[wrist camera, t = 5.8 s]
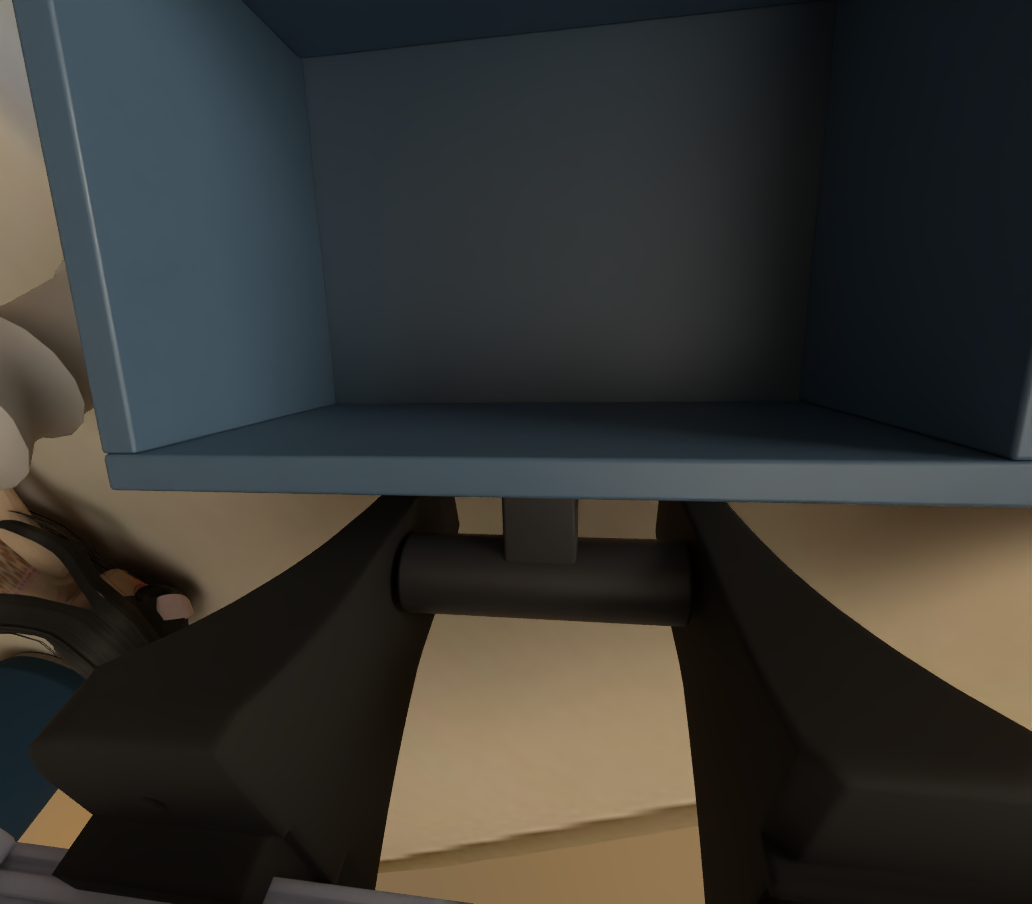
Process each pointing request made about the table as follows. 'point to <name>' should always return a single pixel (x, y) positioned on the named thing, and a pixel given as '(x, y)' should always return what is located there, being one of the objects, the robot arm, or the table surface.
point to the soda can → (28, 731)
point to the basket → (549, 262)
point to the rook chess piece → (39, 374)
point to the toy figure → (76, 595)
